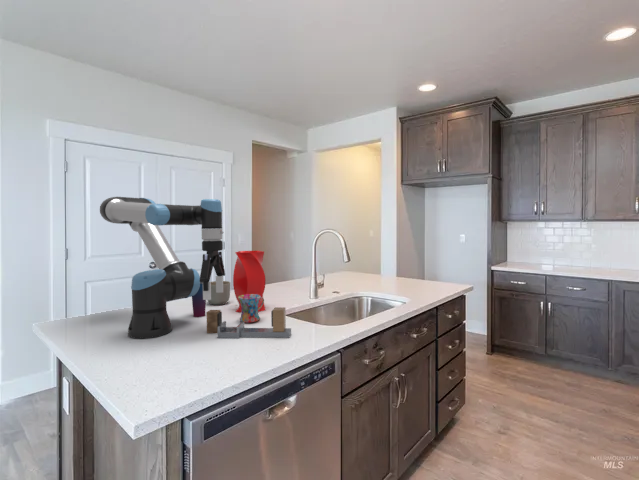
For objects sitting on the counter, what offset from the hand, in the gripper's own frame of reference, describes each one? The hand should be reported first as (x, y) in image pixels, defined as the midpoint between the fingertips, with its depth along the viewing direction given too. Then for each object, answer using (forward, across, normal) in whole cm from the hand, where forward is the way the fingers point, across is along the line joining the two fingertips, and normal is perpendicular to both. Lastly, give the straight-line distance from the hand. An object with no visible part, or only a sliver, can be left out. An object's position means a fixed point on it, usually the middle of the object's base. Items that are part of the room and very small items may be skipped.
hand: (213, 295), depth 135 cm
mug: (+14, +16, -11) cm, 24 cm away
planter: (+14, +47, +15) cm, 51 cm away
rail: (+14, -4, -17) cm, 22 cm away
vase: (+14, +35, -5) cm, 38 cm away
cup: (+14, +23, +15) cm, 31 cm away
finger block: (+14, 0, 0) cm, 14 cm away
